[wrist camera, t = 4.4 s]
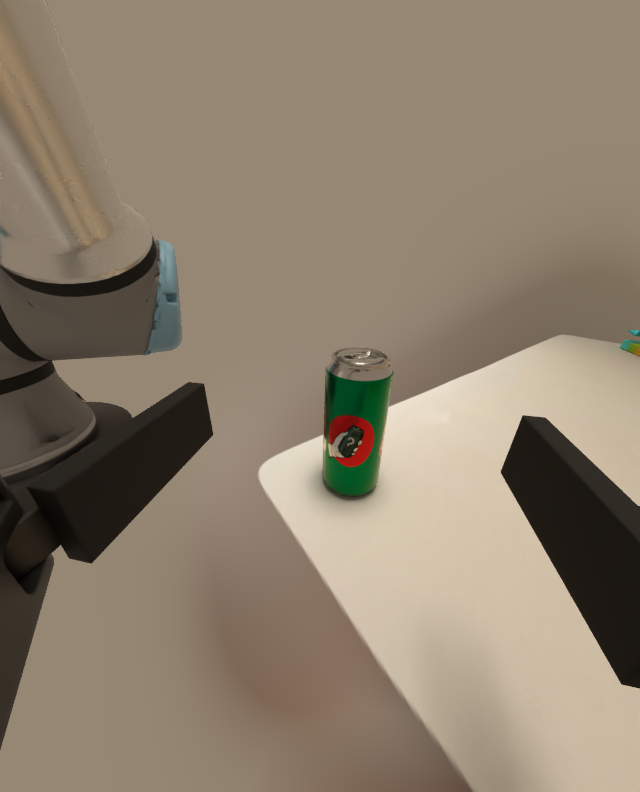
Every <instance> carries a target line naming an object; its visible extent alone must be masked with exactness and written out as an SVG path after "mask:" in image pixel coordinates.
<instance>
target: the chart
mask: <svg viewBox="0 0 640 792" xmlns="http://www.w3.org/2000/svg"><path fill="white" fill-rule="evenodd" d="M629 332H630V333H631V334H633V335H634V336H640V331H635V330H629ZM620 348H622V349H624V350H627V351H629V352H631V353H633V354H635V355H638V356H640V341H631V340H624V341H623V343H622V345H621V347H620Z"/></svg>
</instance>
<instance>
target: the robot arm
mask: <svg viewBox="0 0 640 792" xmlns="http://www.w3.org/2000/svg"><path fill="white" fill-rule="evenodd" d="M181 340H182V327H181V312H180V300H179V288H178V277H177V266H176V257H175V251H174V247H173V245H172V244H170V243H168V242H164V241H162V240H160V239H159V240H156V241H154V239H153V236H152V232H151V230H150V227H149V225H148V223H147V221H146V220H145V218H144V217H143V216H142V215H141V214H140V213H139V212H137V211H136V210H135V209H133V208H132V207H130V206H129V205H127V204H125V203H124V202H122V201H121V200H120V198H119V195H118V192H117V189H116V187H115V184H114V181H113V179H112V176H111V174H110V171H109V168H108V165H107V163H106V160H105V157H104V155H103V152H102V149H101V147H100V144H99V142H98V139H97V136H96V133H95V131H94V128H93V126H92V123H91V120H90V118H89V115H88V112H87V110H86V107H85V104H84V102H83V99H82V97H81V94H80V91H79V89H78V86H77V83H76V80H75V78H74V75H73V72H72V70H71V67H70V65H69V62H68V59H67V56H66V54H65V51H64V48H63V46H62V43H61V40H60V38H59V35H58V32H57V30H56V27H55V24H54V22H53V19H52V16H51V14H50V11H49V8H48V6H47V3H46V0H0V749H1V745H2V742H3V739H4V735H5V732H6V728H7V725H8V721H9V718H10V714H11V711H12V707H13V704H14V700H15V697H16V694H17V690H18V686H19V683H20V680H21V676H22V673H23V669H24V666H25V662H26V659H27V655H28V652H29V648H30V645H31V642H32V638H33V634H34V631H35V628H36V624H37V620H38V617H39V614H40V610H41V607H42V603H43V600H44V596H45V593H46V590H47V586H48V582H49V579H50V576H51V572H52V569H53V565H54V558H53V556H52V554H51V553H52V552H53V551H54V550H56V548H58V547H59V546H60V545H61V546H62V547H63V549H64V551H65V552H66V554H67V556H68V557H69V558H70V559H74V560H79V561H83V562H87V563H92V562H93V561H94V560H95V559H96V558H97V557H98V556H99V555H100V554H101V553H102V552H103V551H104V550H105V549H106V547H108V545H109V544H110V543H111V542H112V541H113V540H114V539H115V538H116V537H117V536H118V535H119V534H120V533H121V532H122V531H123V529H125V527H126V526H127V525H128V524H129V523H130V522H131V521H132V520H133V519H134V518H135V517H136V516H137V515H138V514H139V513H140V512H141V511H142V510H143V508H144V507H145V506H146V505H147V504H148V503H149V502H150V501H151V500H152V499H153V498H154V497H155V496H156V495H157V494H158V493H159V492H160V490H161V489H162V488H163V487H164V486H165V485H166V484H167V483H168V482H169V481H170V480H171V479H172V478H173V477H174V476H175V475H176V474H177V472H178V471H179V470H180V469H181V468H182V467H183V466H184V465H185V464H186V463H187V462H188V461H189V460H190V459H191V457H193V456H194V454H195V453H196V452H197V451H198V450H199V449H200V448H201V447H202V446H203V445H204V444H205V443H206V442H207V441H208V440H209V439H210V438H211V437H212V435H213V431H212V425H211V420H210V414H209V409H208V404H207V399H206V392H205V387H204V384H200V383H191V382H189V383H187V384H185V385H184V386H182V387H181V388H179V389H177V390H176V391H174V392H173V393H171V394H170V395H168V396H167V397H165V398H164V399H162V400H160V401H159V402H157V403H156V404H154V405H153V406H151V407H150V408H148V409H147V410H145V411H143V412H142V413H140V414H139V415H137V416H136V417H134V418H132V419H131V420H129V421H128V422H126V423H125V424H123V425H122V426H120V427H119V428H117V429H115V430H114V431H112V432H111V433H109V434H108V435H106V436H105V437H102V438H100V439H98V440H95V441H93V442H92V443H90V442H91V441H92V440H93V439H94V437H95V436H96V434H97V432H98V428H99V426H98V423H97V420H96V418H95V415H94V413H93V411H92V410H91V409H90V408H89V407H88V406H87V405H86V404H85V403H84V402H83V401H82V400H84V399H83V398H82V397H81V396H80V395H79V394H78V393H76V392H75V391H73V390H72V389H71V388H70V387H69V386H68V385H67V384H66V383H65V382H64V381H63V380H62V379H61V378H60V377H59V376H58V374H57V372H56V370H55V368H54V365H53V363H52V360H65V359H81V358H96V357H113V356H128V355H149V354H150V353H155V352H163V351H170V350H173V349H175V348H177V347H178V346H179V345H180V343H181ZM84 401H85V400H84ZM89 443H90V444H89ZM65 460H66V461H65ZM50 468H51V469H50ZM48 469H49V470H48ZM45 470H48V471H46V472H44V473H43V474H41V475H40V476H38V477H37V478H35V479H33V480H32V481H30V482H29V483H27V484H26V485H24V486H23V487H21V488H19V489H18V490H16V491H15V492H13V493H12V491H11V490H10V488H9V487H8V484H11V483H15V482H18V481H20V480H23V479H26V478H29V477H31V476H34V475H36V474H39V473H41V472H43V471H45ZM501 474H502V476H503V477H504V479H505V481H506V483H507V484H508V486H509V488H510V490H511V491H512V493H513V495H514V497H515V498H516V500H517V502H518V504H519V505H520V507H521V509H522V511H523V512H524V514H525V516H526V518H527V519H528V521H529V523H530V525H531V526H532V528H533V530H534V532H535V533H536V535H537V537H538V539H539V540H540V542H541V544H542V546H543V547H544V549H545V551H546V553H547V554H548V556H549V558H550V560H551V561H552V563H553V565H554V567H555V568H556V570H557V572H558V574H559V575H560V577H561V579H562V581H563V583H564V584H565V586H566V588H567V590H568V591H569V593H570V595H571V597H572V598H573V600H574V602H575V604H576V605H577V607H578V609H579V611H580V612H581V614H582V616H583V618H584V619H585V621H586V623H587V625H588V626H589V628H590V630H591V632H592V633H593V635H594V637H595V639H596V640H597V642H598V644H599V646H600V647H601V649H602V651H603V653H604V654H605V656H606V658H607V660H608V661H609V663H610V665H611V667H612V668H613V670H614V672H615V674H616V675H617V677H618V679H619V681H620V682H621V684H622V685H627V686H631V687H636V688H640V506H637V505H636V504H635V503H634V502H633V501H632V500H631V499H630V498H629V497H628V496H627V495H626V494H625V493H624V492H623V491H622V490H621V489H620V488H619V487H618V486H617V485H615V484H614V483H613V482H612V481H611V480H610V479H609V478H608V477H607V476H606V475H605V474H604V473H603V472H602V471H601V470H600V469H599V468H598V467H597V466H596V465H594V464H593V463H592V462H591V461H590V460H589V459H588V458H587V457H586V456H585V455H584V454H583V453H582V452H581V451H580V450H579V449H578V448H577V447H576V446H575V445H574V444H572V443H571V442H570V441H569V440H568V439H567V438H566V437H565V436H564V435H563V434H562V433H561V432H560V431H559V430H558V429H557V428H556V427H555V426H554V425H553V424H551V423H550V422H549V421H548V420H547V419H546V418H543V417H533V416H522V419H521V421H520V424H519V427H518V429H517V432H516V434H515V437H514V439H513V442H512V444H511V447H510V450H509V452H508V455H507V457H506V460H505V462H504V465H503V467H502V470H501Z"/></svg>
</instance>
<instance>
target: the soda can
mask: <svg viewBox="0 0 640 792" xmlns="http://www.w3.org/2000/svg"><path fill="white" fill-rule="evenodd" d="M389 362H390V358H389V356H388V355H387V354H385V353H383V352H380V351H377V350H374V349H368V348H344V349H339V350H336V351H334V352H333V353H332V354H331V361H330V362H329V363H328V365H327V366H326V376H325V408H324V410H325V411H324V441H323V479H324V481H325V482H326V484H327V485H328V486H329V487H330V488H331V489H333V490H334V491H336V492H338V493H340V494H342V495H346V496H358V495H362V494H365V493H367V492H369V491H370V490H372V489H373V488H374V487H375V485H376V483H377V480H378V474H379V467H380V460H381V453H382V447H383V440H384V433H385V426H386V419H387V413H388V405H389V399H390V392H391V385H392V379H393V370H392V369H391V367H390V365H389Z"/></svg>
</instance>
